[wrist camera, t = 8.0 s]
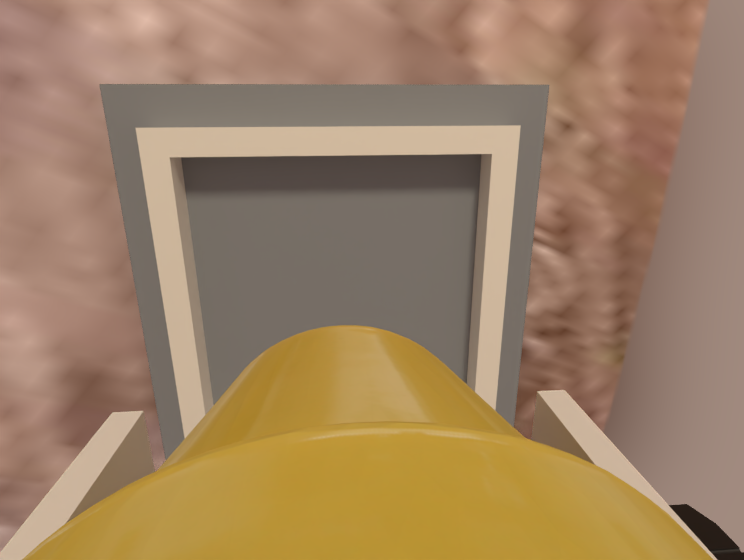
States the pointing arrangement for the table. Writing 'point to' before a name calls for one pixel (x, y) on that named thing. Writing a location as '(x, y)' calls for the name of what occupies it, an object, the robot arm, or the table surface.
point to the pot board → (325, 224)
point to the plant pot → (366, 474)
